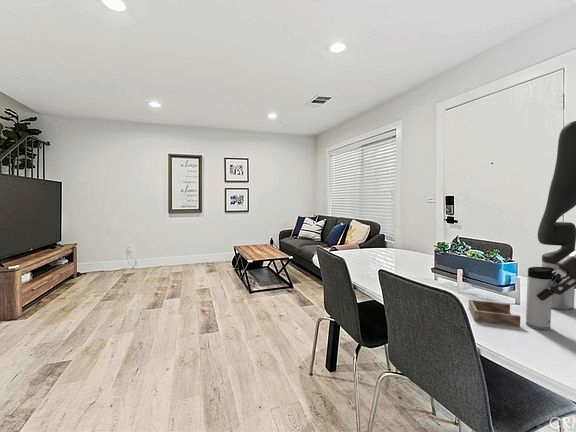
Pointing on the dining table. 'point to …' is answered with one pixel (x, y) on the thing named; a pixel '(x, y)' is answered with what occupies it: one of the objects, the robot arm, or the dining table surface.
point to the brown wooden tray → (493, 313)
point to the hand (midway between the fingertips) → (534, 294)
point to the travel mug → (535, 308)
